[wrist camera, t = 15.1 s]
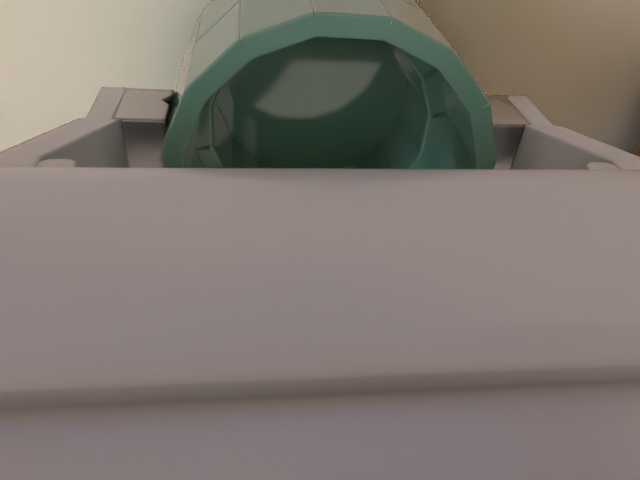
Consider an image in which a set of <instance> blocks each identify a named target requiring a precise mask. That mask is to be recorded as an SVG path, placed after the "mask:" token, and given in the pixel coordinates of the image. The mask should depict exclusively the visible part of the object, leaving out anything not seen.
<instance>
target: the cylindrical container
mask: <svg viewBox="0 0 640 480" xmlns="http://www.w3.org/2000/svg"><path fill="white" fill-rule="evenodd" d="M161 155H162V165H163V168H333V169H494V167H495V164H496V159H497V154H496V146H495V137H494V129H493V121H492V112H491V104H490V103H489V99H488V98H487V96H486V95H485V93H484V92H483V91H482V89H481V88H480V86H479V85H478V83H477V82H476V80H475V79H474V77H473V76H472V75H471V73H470V72H469V70H468V69H467V67H466V66H465V64H464V63H463V61H462V60H461V58H460V57H459V56H458V54H457V53H456V51H455V50H454V49H453V48H452V46H451V45H450V44H449V43H448V41H447V40H446V39H445V38H444V36H443V35H442V34H441V33H440V31H439V30H438V29H437V28H436V26H435V25H434V24H433V23H432V21H431V20H430V19H429V18H428V16H427V15H426V14H425V13H424V11H423V10H422V9H421V8H420V6H419V5H418V4H417V3H416V1H415V0H213V1H212V2H211V3H210V4H209V5H208V6H207V7H206V8H205V9H204V10H203V12H202V14H201V15H200V16H199V18H198V21H197V23H196V26H195V29H194V31H193V34H192V37H191V39H190V42H189V44H188V47H187V50H186V52H185V55H184V58H183V61H182V65H181V69H180V73H179V78H178V82H177V86H176V90H175V95H174V98H173V102H172V106H171V110H170V114H169V118H168V123H167V127H166V131H165V135H164V139H163V144H162V150H161Z"/></svg>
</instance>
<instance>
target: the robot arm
mask: <svg viewBox="0 0 640 480" xmlns="http://www.w3.org/2000/svg"><path fill="white" fill-rule="evenodd" d="M174 95H175V92H174V90H157V89H130V88H126V87H102V88H101V89H100V91H99V93H98V95H97V97H96V99H95V101H94V103H93V105H92V107H91V109H90V111H89V113H88V115H87V117H86V118H79V119H76V120H74V121H71V122H69V123H67V124H64V125H62V126H60V127H57V128H55V129H53V130H50V131H48V132H46V133H43V134H41V135H39V136H36V137H34V138H32V139H29V140H27V141H25V142H22V143H20V144H18V145H15V146H13V147H11V148H8V149H6V150H4V151H1V152H0V480H640V157H639V156H636V155H634V154H631V153H629V152H626V151H624V150H621V149H619V148H616V147H613V146H611V145H608V144H606V143H603V142H601V141H598V140H596V139H593V138H591V137H588V136H586V135H583V134H580V133H578V132H575V131H573V130H570V129H568V128H565V127H563V126H560V125H553V124H552V123H551V122H550V121H549V120H548V119H547V118H546V117H545V116H544V114H543V113H542V112H541V111H540V110H539V109H538V108H537V107H536V106H535V105H534V104H533V103H532V102H531V100H530V99H529V98H528V97H525V96H487V98H488V99H489V103H490V104H491V112H492V121H493V129H494V137H495V146H496V154H497V159H496V164H495V167H494V169H333V168H163V165H162V155H161V150H162V144H163V139H164V135H165V131H166V127H167V123H168V118H169V114H170V110H171V106H172V102H173V98H174Z"/></svg>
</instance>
